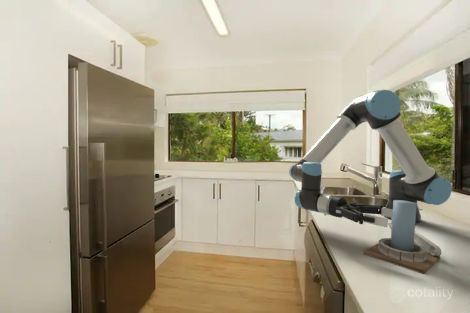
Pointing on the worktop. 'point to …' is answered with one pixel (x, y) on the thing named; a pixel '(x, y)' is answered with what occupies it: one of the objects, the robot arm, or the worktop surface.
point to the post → (403, 225)
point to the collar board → (403, 263)
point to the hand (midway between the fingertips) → (395, 219)
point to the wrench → (425, 243)
